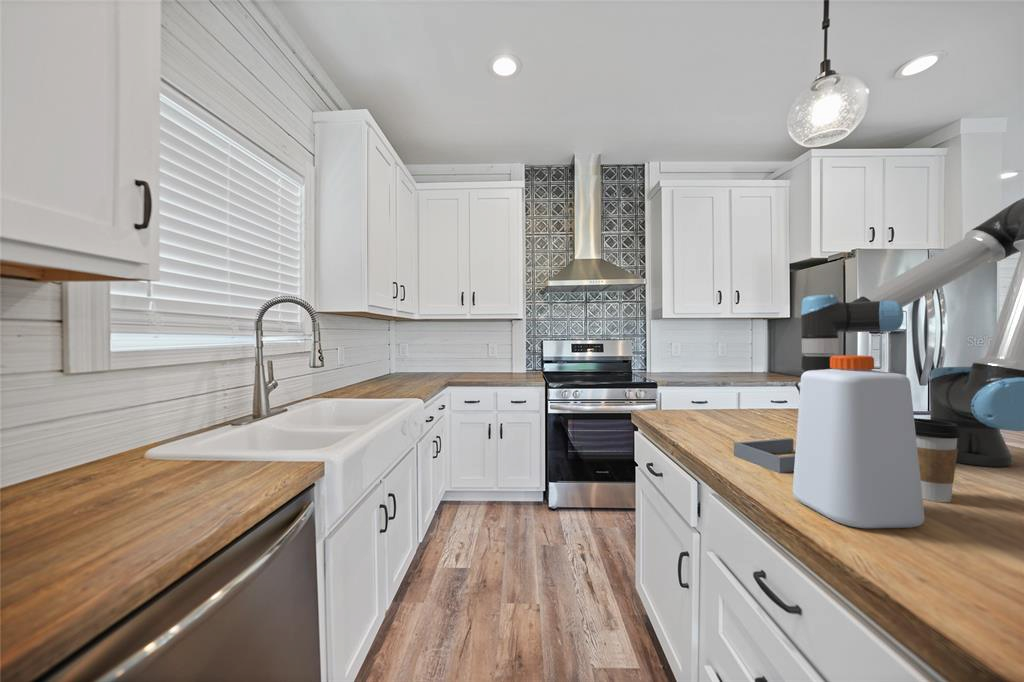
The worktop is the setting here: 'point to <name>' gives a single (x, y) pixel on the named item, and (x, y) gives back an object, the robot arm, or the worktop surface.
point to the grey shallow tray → (767, 453)
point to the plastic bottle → (858, 446)
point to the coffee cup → (936, 457)
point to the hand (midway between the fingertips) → (819, 446)
